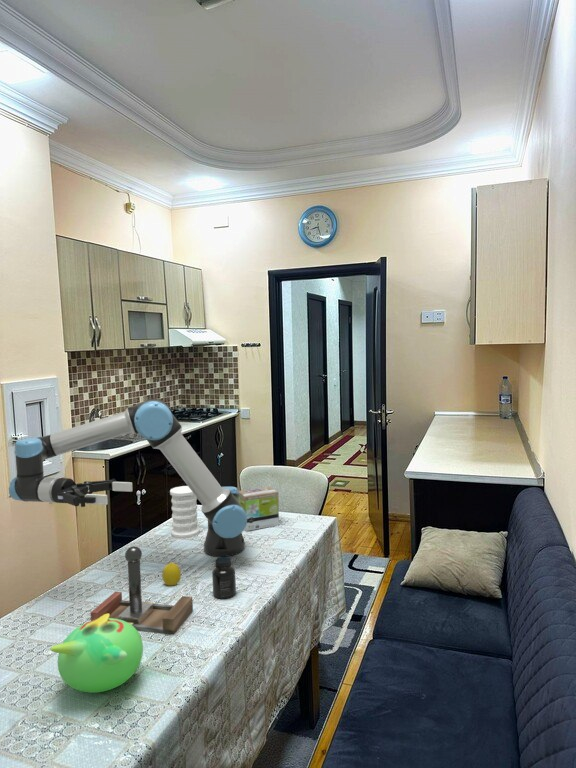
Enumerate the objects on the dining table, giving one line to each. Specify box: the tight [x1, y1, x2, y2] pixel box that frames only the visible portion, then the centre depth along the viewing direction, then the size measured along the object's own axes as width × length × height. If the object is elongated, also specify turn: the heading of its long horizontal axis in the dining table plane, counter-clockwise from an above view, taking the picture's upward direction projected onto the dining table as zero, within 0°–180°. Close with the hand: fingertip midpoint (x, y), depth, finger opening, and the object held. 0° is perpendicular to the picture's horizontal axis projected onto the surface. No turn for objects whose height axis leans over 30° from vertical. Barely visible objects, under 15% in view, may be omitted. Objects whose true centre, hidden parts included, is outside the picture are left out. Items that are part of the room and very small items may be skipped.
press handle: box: [118, 545, 153, 625], centre depth 141 cm, size 6×8×20 cm
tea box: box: [238, 486, 280, 532], centre depth 216 cm, size 15×10×15 cm, turn 117°
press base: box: [90, 591, 194, 636], centre depth 141 cm, size 24×12×6 cm, turn 77°
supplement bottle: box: [211, 556, 237, 601], centre depth 153 cm, size 7×7×12 cm
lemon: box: [162, 562, 182, 587], centre depth 161 cm, size 6×6×8 cm
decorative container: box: [169, 485, 201, 539], centre depth 209 cm, size 12×12×18 cm
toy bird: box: [50, 613, 144, 694], centre depth 115 cm, size 18×17×15 cm
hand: (119, 493), depth 154 cm, fingers open, 13 cm apart
